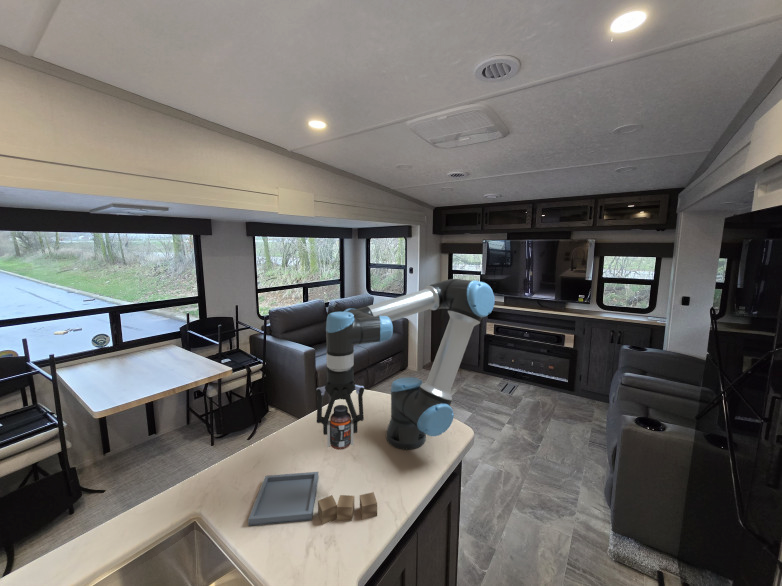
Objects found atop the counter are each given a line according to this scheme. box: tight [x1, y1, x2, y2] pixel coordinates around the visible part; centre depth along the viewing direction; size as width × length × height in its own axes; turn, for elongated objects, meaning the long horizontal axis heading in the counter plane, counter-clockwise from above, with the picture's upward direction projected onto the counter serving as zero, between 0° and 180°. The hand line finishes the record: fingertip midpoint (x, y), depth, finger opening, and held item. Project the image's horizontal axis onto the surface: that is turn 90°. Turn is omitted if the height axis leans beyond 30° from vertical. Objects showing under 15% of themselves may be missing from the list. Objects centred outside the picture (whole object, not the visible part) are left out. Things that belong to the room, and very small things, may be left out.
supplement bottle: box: [329, 404, 352, 451], centre depth 90 cm, size 6×6×11 cm
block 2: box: [336, 494, 355, 522], centre depth 84 cm, size 4×4×4 cm
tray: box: [247, 471, 320, 527], centre depth 89 cm, size 16×16×2 cm
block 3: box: [359, 491, 378, 520], centre depth 85 cm, size 4×4×4 cm
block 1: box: [317, 494, 338, 525], centre depth 83 cm, size 4×4×4 cm
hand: (340, 443), depth 91 cm, fingers closed on supplement bottle, 6 cm apart
